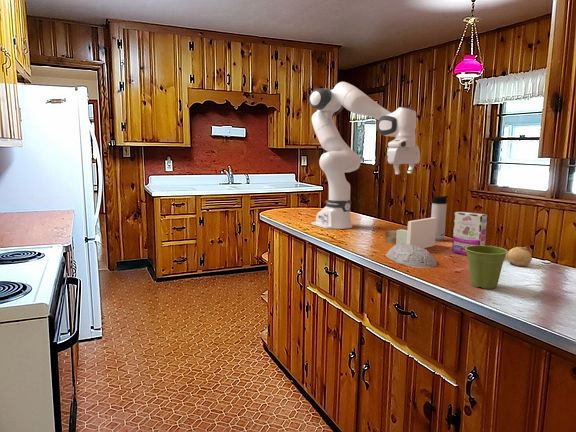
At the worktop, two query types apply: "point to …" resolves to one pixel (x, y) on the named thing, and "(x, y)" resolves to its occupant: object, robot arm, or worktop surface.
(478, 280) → the plant pot
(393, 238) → the rail
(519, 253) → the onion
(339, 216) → the robot arm
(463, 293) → the worktop surface
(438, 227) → the travel mug
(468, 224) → the candy bar box
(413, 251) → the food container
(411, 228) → the post block
